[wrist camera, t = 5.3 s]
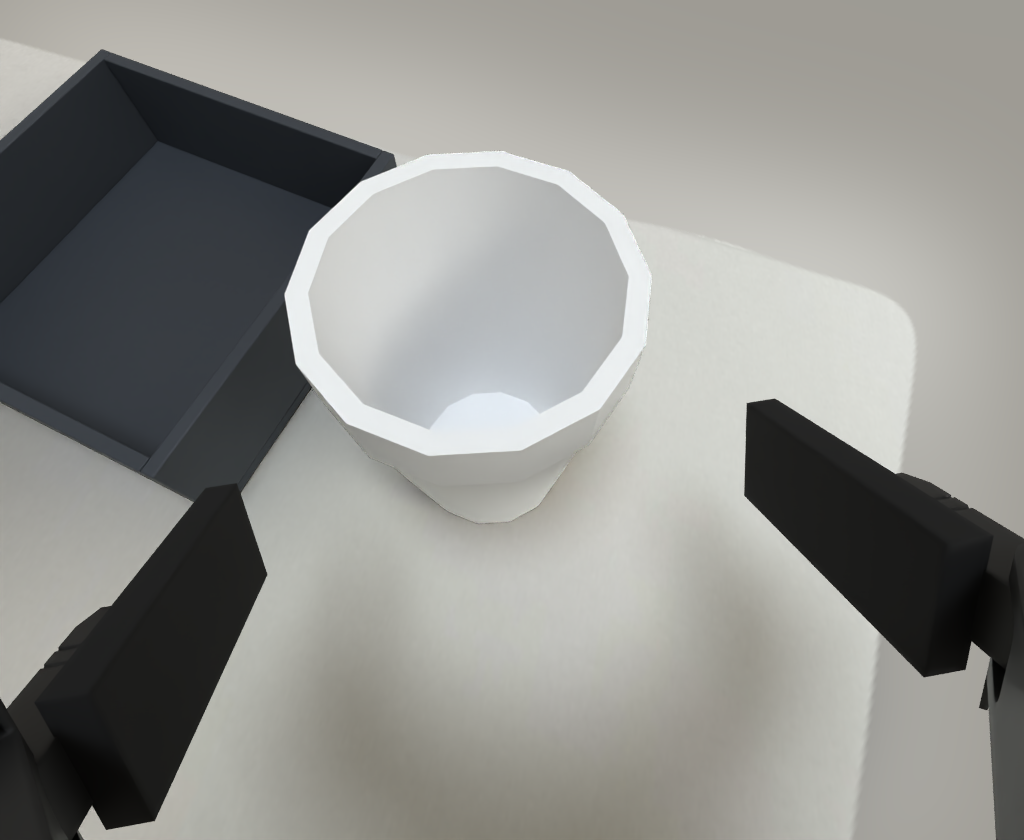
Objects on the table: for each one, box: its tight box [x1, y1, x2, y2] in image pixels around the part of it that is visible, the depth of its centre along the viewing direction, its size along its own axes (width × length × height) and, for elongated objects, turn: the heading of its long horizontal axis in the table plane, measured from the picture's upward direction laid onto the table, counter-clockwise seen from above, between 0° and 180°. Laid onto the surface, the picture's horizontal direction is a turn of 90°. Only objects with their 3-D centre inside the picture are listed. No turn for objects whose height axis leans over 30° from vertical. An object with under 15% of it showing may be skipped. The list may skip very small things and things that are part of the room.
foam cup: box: [284, 151, 652, 524], centre depth 21 cm, size 10×9×13 cm
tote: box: [0, 50, 397, 502], centre depth 28 cm, size 17×17×6 cm
